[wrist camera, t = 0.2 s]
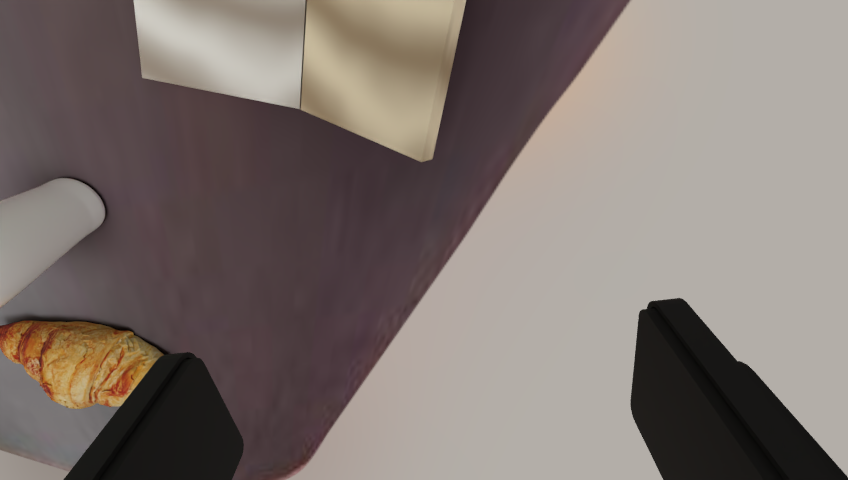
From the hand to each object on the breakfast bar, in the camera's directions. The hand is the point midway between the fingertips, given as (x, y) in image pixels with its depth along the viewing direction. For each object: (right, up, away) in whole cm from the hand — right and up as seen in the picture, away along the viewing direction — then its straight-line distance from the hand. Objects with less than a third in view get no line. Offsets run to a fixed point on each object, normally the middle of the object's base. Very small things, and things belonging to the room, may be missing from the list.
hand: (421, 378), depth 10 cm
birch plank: (-3, +17, +20) cm, 26 cm away
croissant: (-35, -10, +40) cm, 55 cm away
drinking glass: (-32, +7, +31) cm, 45 cm away
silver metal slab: (-14, +21, +22) cm, 34 cm away
